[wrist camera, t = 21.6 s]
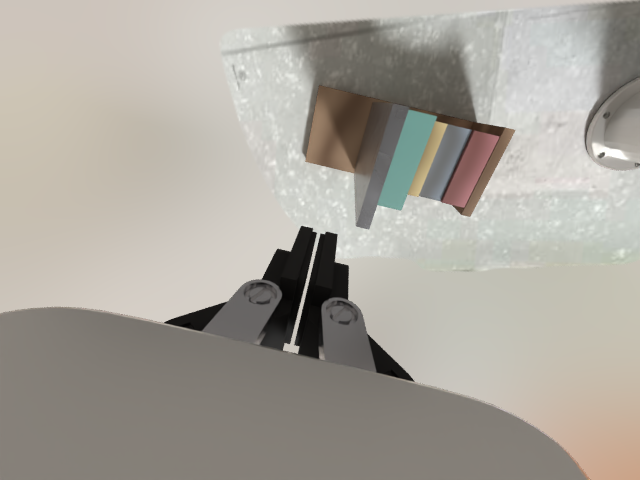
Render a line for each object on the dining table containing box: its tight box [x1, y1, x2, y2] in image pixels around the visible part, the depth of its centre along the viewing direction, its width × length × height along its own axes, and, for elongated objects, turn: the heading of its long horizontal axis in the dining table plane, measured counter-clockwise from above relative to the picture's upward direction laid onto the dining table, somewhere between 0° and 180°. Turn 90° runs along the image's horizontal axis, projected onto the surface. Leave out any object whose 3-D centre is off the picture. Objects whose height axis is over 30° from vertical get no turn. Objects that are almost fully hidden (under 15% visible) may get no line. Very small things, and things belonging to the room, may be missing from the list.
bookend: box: [354, 102, 410, 229], centre depth 31 cm, size 1×10×22 cm, turn 168°
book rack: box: [305, 85, 515, 217], centre depth 38 cm, size 24×11×10 cm, turn 78°
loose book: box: [377, 110, 437, 210], centre depth 35 cm, size 4×10×14 cm, turn 168°
